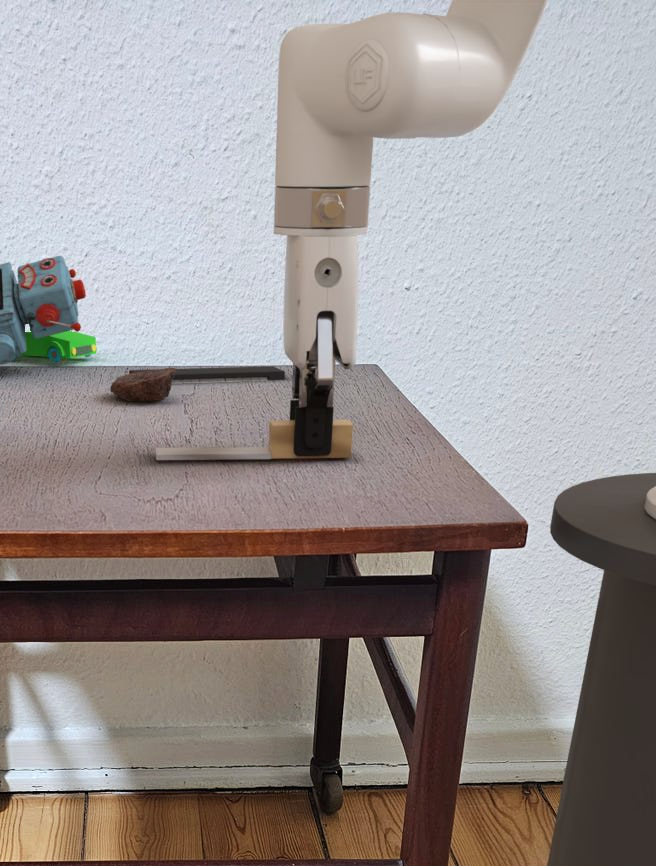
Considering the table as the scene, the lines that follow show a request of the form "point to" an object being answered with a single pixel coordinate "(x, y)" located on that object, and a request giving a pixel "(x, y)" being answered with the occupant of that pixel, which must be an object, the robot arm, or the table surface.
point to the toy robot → (37, 303)
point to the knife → (277, 447)
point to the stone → (144, 385)
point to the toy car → (60, 345)
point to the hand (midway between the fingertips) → (309, 449)
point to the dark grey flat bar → (224, 374)
